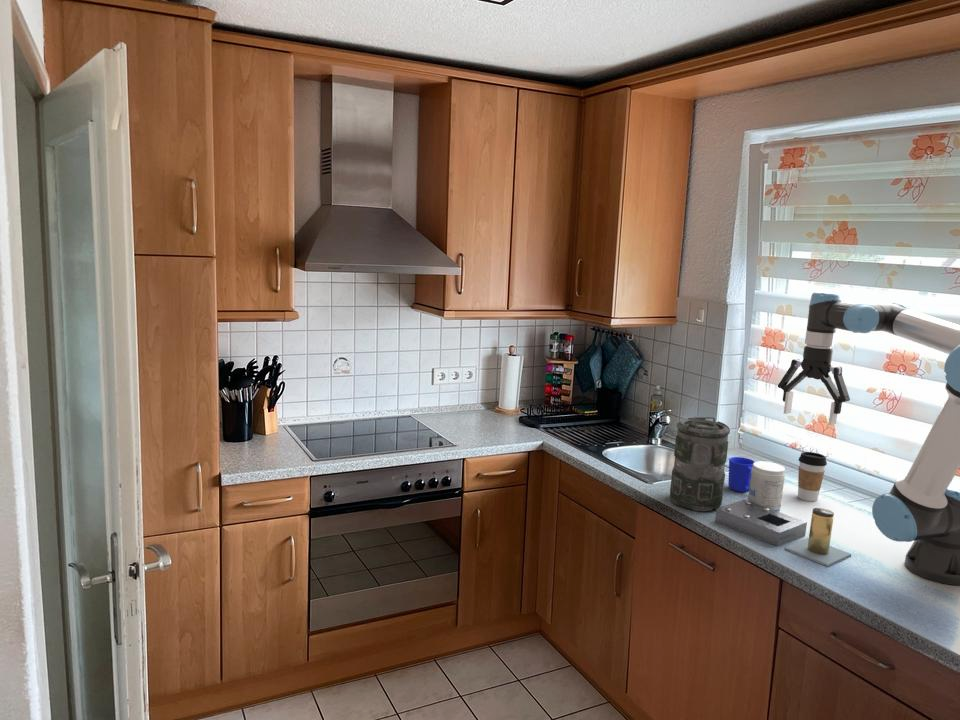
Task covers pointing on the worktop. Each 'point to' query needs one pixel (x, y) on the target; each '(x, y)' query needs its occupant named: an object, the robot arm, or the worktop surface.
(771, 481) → the supplement tub
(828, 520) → the cylinder
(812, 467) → the coffee cup
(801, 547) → the mat
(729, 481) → the mug
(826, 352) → the robot arm
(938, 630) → the worktop surface
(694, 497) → the canister
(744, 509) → the housing
